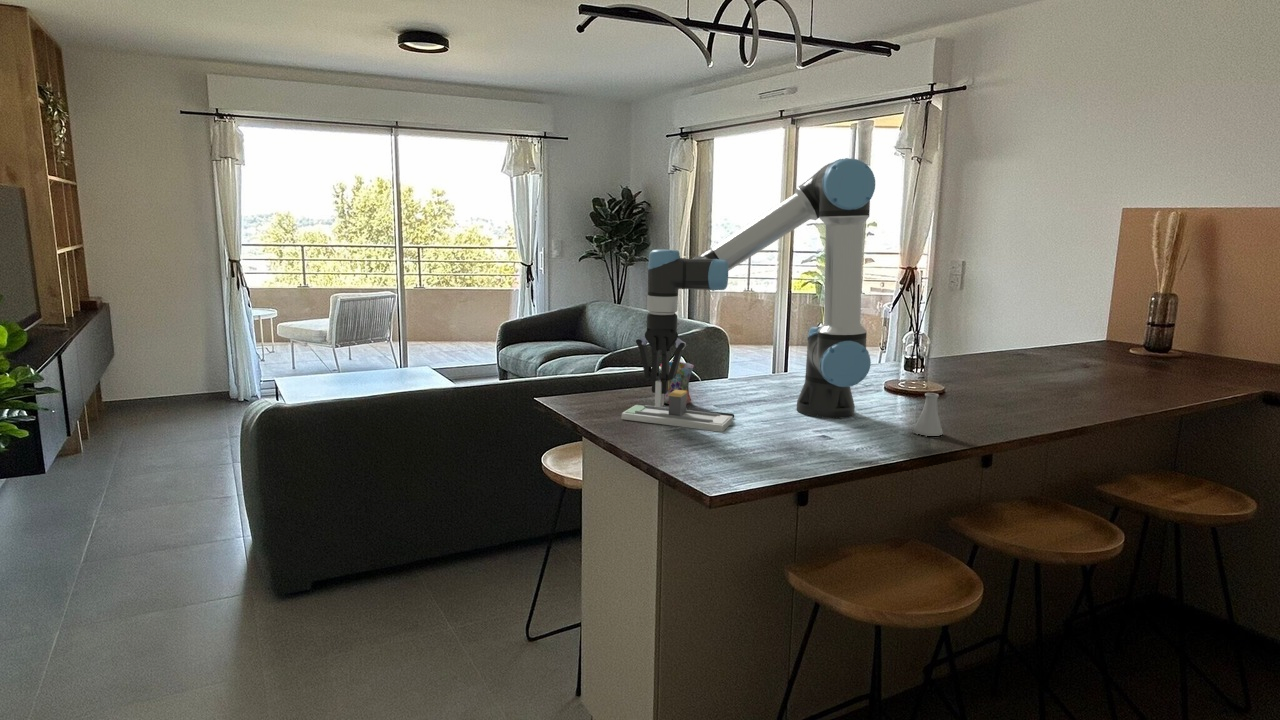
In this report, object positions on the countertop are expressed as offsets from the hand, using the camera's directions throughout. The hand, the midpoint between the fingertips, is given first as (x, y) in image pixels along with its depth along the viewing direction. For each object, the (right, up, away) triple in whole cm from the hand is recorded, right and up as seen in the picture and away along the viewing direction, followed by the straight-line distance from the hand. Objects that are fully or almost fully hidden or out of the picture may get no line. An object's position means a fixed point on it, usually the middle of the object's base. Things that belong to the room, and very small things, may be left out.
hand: (659, 405), depth 194 cm
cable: (+8, -2, +6) cm, 10 cm away
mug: (+5, 0, +19) cm, 19 cm away
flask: (+65, -7, -6) cm, 66 cm away
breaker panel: (+4, -4, -1) cm, 6 cm away
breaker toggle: (+4, -2, -1) cm, 5 cm away
